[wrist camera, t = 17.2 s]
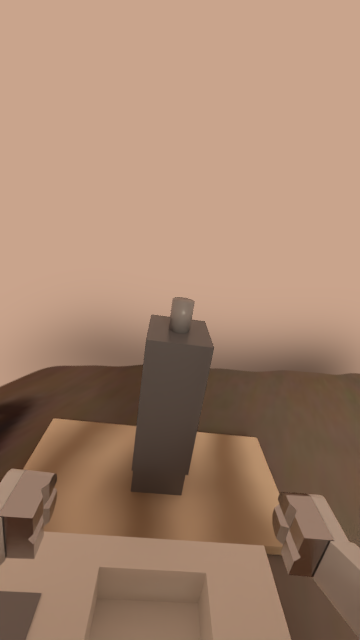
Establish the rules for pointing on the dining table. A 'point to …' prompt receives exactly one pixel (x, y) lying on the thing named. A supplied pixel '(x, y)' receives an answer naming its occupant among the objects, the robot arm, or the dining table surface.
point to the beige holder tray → (139, 591)
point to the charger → (170, 399)
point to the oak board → (149, 508)
